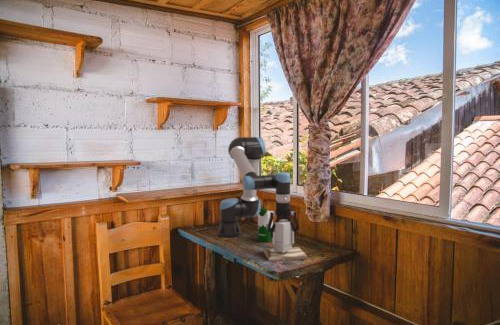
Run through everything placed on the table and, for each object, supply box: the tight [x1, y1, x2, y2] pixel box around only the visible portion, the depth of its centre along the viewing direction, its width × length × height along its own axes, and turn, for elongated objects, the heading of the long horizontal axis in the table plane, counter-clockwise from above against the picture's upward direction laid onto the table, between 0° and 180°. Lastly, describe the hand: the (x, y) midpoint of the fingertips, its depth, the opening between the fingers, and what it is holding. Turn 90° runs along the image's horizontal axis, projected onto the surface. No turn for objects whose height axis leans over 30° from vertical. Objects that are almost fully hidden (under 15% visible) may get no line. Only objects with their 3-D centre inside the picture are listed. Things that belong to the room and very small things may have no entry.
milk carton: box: [256, 207, 275, 244], centre depth 222 cm, size 9×9×20 cm
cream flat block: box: [263, 242, 308, 262], centre depth 193 cm, size 16×21×5 cm
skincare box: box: [273, 219, 293, 253], centre depth 192 cm, size 8×7×16 cm
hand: (283, 243), depth 192 cm, fingers closed on skincare box, 10 cm apart
